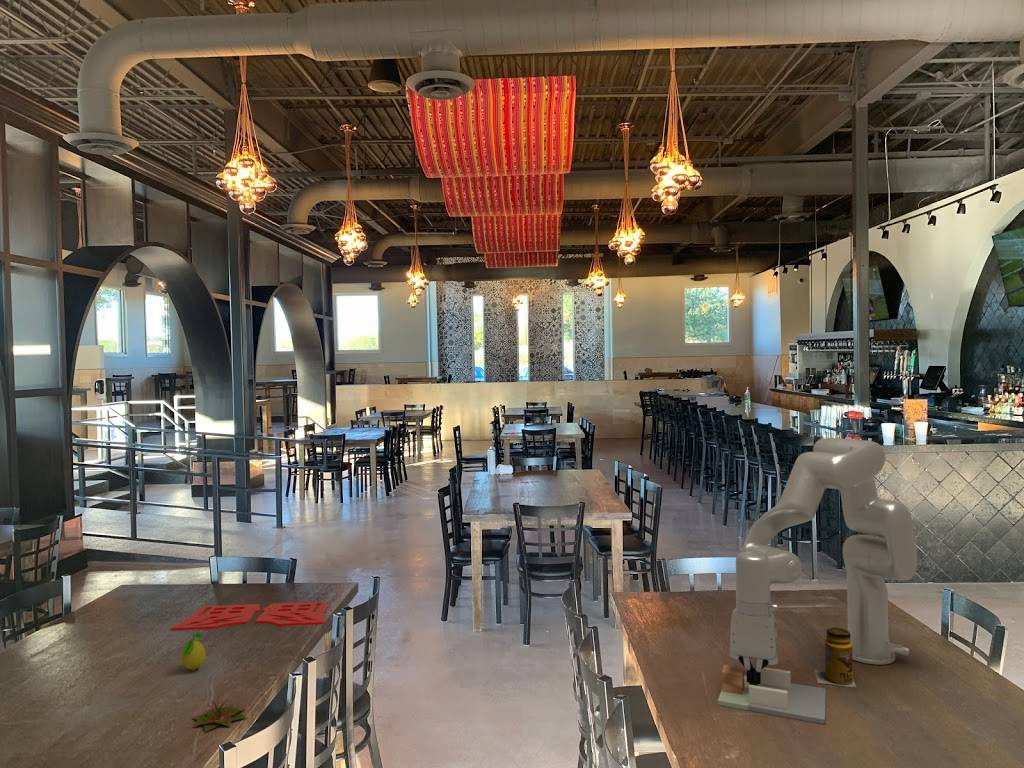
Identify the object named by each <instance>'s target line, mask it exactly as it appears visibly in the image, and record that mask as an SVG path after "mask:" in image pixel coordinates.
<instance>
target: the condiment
mask: <svg viewBox="0 0 1024 768" xmlns="http://www.w3.org/2000/svg"><path fill="white" fill-rule="evenodd" d="M850 636H851V635H850V633H849V631H848V629H845V628H840V627H829V628H828V629H826V638H825V640H824V666H825V668H824V670H819V669H818V670H817V669H814V674H815V679H816V681H817V684H825V685H826V684H827V685H833V686H840V687H848V688H849V687H850V688H857V685H856V682H855V680H854V678H853V675H854V674H853V671H854V669H853V667H854V666H853V661H854V660H853V659H852V644H851V642H850V641H851V639H850Z"/></svg>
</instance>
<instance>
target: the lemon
mask: <svg viewBox="0 0 1024 768" xmlns="http://www.w3.org/2000/svg"><path fill="white" fill-rule="evenodd" d="M195 637H196V638H198V639H199V640H203V639H204V637H203V634H202V632H201V631H198V632H196V633H195V631H193V632H192V639H191V640H189V641H187V642H186V643H185V645H184V648H183V650H182V654H181V661H182V664H183V666H184V668H186V669H189V670H191V671H192V672H194V671H195V670H196V669H198V668H200V667H201V666H202V665H204V663H205V660H206V649H205V647H204V645H203V643H201V641H198V640H195Z"/></svg>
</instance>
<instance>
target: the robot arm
mask: <svg viewBox="0 0 1024 768" xmlns="http://www.w3.org/2000/svg"><path fill="white" fill-rule="evenodd" d="M885 463H886V452H885V450H884V448H883V446H881V445H880V444H879V443H877V442H875V441H872V440H865V439H864V440H863V439H849V438H839V437H825V438H821V439H818V440H817V441H816V442H815V444H814V446H813V451H807V452H803V453H800V455H799V456H798V457H797V458H796V460H795V462H794V463H793V466H792V468H791V472H790V474H789V477H788V479H787V481H786V484H785V487H784V488H783V489H784V490H783V491H782V494H781V497H780V499H779V501H778V503H777V504H776V505H774V507H772V508H770V509H769V510H767V511H766V512H765V513H764V514H762V515H761V516H760V518H758V519H757V520H756V521H755V522H754V523H753V524H752V525H751V527H750V528H749V530H748V532H747V535H746V537H745V539H744V543H743V545H742V548H741V551H740V552H739V553H738V554H737V555H736V557H735V608H733V611H732V615H731V622H730V623H731V624H730V634H729V635H730V637H729V654H728V656H729V658H730V659H734V660H736V661H739V662H740V664H742V667H744V670H746V676H747V682H749V685H755V686H758V684H761V670H762V669H763V668H765V667H766V668H767V666H774V665H778V663H779V657H778V632H777V625H776V624H777V623H776V618H775V614H774V613H773V611H776V612H777V611H778V604H774V603H773V602H772V601H771V585H772V584H773V585H775V584H777V585H778V584H781V585H785V584H786V585H787V584H791V583H794V582H795V581H797V579H799V577H800V576H801V574H802V572H803V565H802V561H801V559H800V558H799V557H798V555H796V554H795V553H793V552H791V551H788V550H784V549H781V548H776V547H773V546H771V545H770V546H769V543H770V542H771V540H772V539H773V537H775V535H777V534H778V533H780V532H782V531H783V530H785V529H787V528H790V527H793V526H797V525H801V524H805V523H807V522H810V521H812V520H813V519H814V518H815V516H816V513H817V511H818V508H819V505H820V504H821V500H822V498H823V495H824V492H825V490H826V489H833V490H839V492H840V497H841V498H840V499H841V504H842V505H841V506H842V511H843V512H842V513H843V517H844V522H845V525H846V526H847V528H848V529H849V530H851V531H854V532H856V533H860V534H853V535H850V536H848V537H847V538H846V539H845V541H844V543H843V545H842V559H843V562H844V567H845V571H846V572H845V573H846V587H847V598H846V599H847V601H846V602H847V631H849V633H850V635H851V636H850V639H851V641H850V642H851V644H852V660H853V661H856V662H859V663H863V664H867V665H888V664H892V663H894V662H895V661H896V654H897V655H901V656H910V649H909V647H905V646H903V644H898V643H896V644H895V643H893V642H890V637H889V592H888V587H887V584H886V582H885V580H884V578H886V579H887V578H888V579H890V580H896V581H909V580H910V579H912V578H913V577H914V576H915V573H916V572H917V568H918V556H917V555H918V554H917V553H918V552H917V547H916V540H915V532H914V531H915V530H914V523H913V522H914V521H913V519H912V517H913V516H912V514H911V512H910V511H909V509H908V508H907V506H906V505H904V504H903V503H902V502H900V501H897V500H891V499H886V498H885V499H884V498H880V496H879V495H878V491H877V487H876V485H877V484H876V480H875V476H877V475H878V474H879V473H880V472H881V471H882V470H883V468H884V466H885ZM883 577H884V578H883ZM753 658H754V659H756V664H755V665H754V666H755V667H754V666H753V664H752V659H753Z"/></svg>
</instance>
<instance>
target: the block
mask: <svg viewBox="0 0 1024 768" xmlns="http://www.w3.org/2000/svg"><path fill="white" fill-rule="evenodd" d="M744 676H745V667H744V666H737V665H730V664H724V665H723V667H722V671H721V680H722V681H721V690H722V691H723V692H729V693H736V694H742V695H743V691H744Z"/></svg>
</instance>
